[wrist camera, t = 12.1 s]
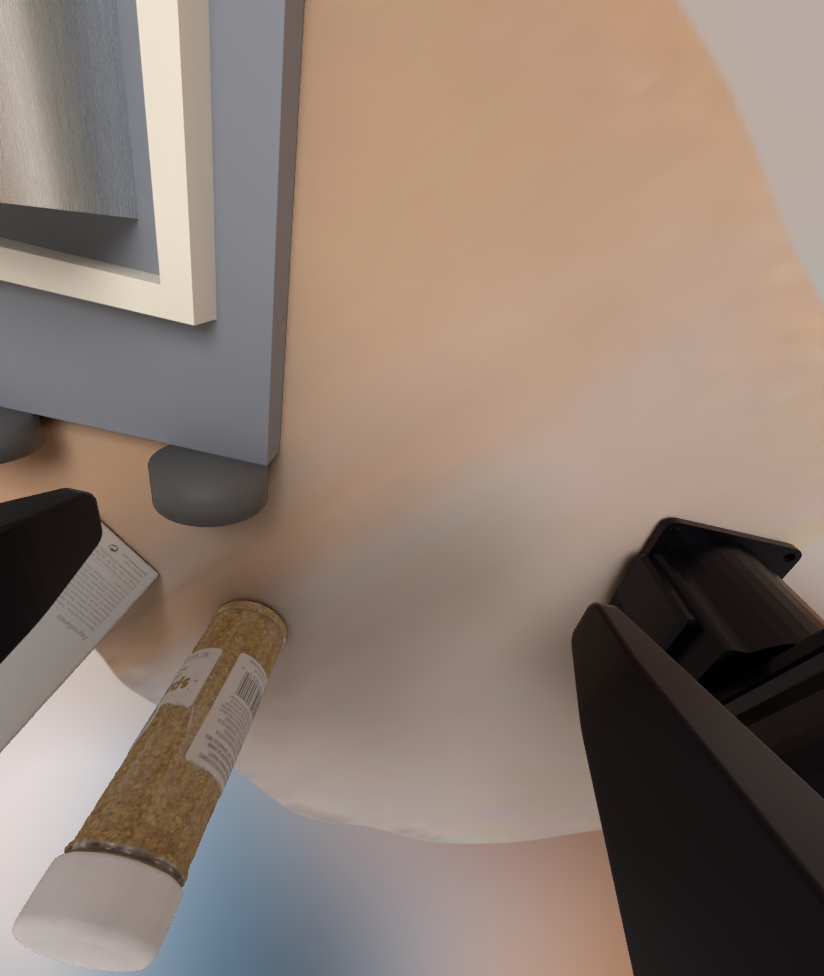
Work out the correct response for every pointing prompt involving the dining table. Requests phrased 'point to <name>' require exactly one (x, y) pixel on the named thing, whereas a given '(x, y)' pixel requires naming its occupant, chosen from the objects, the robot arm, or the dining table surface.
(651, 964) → the robot arm
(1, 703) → the small box
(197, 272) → the chassis
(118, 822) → the sprinkles bottle
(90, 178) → the block
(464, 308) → the dining table surface
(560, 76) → the dining table surface
